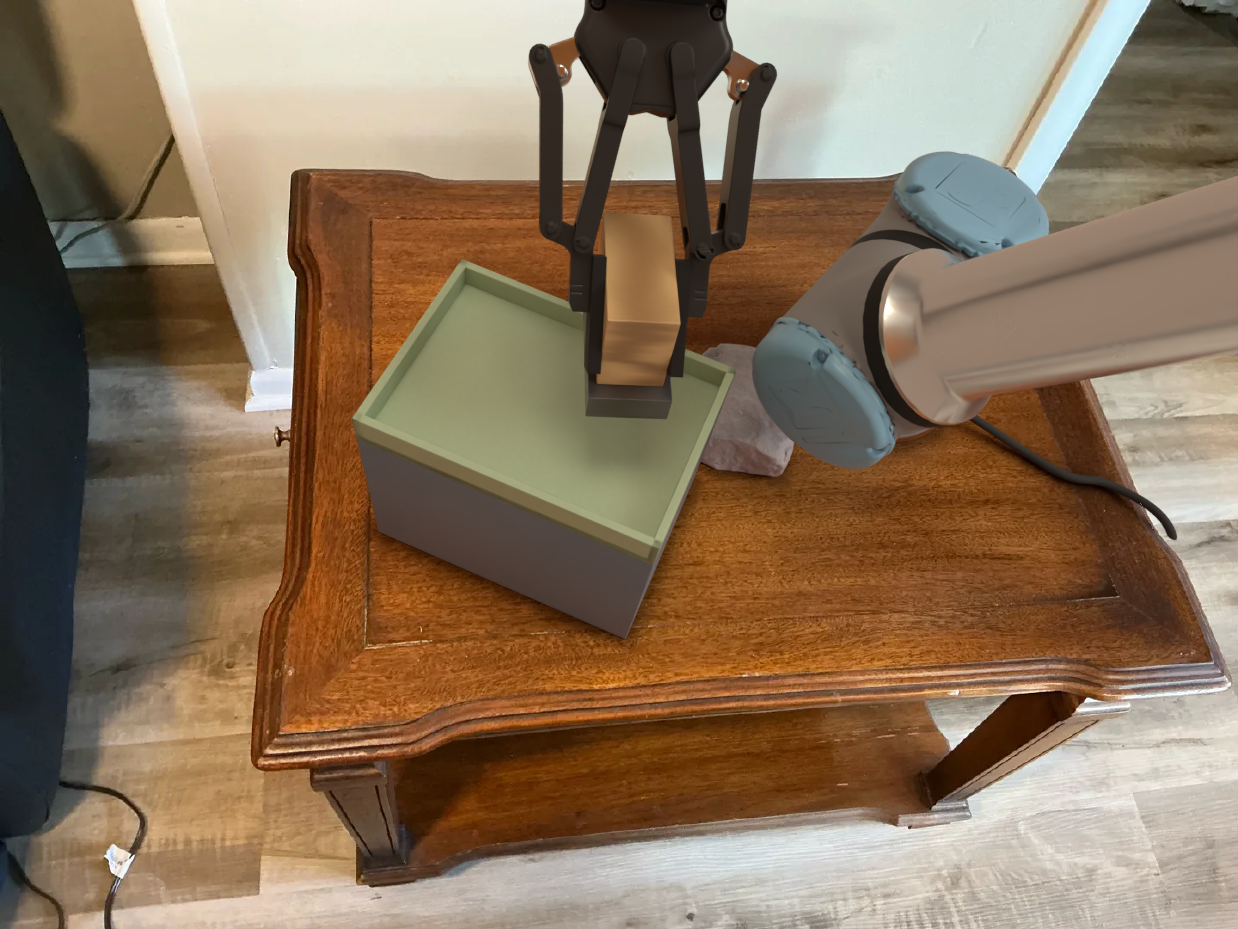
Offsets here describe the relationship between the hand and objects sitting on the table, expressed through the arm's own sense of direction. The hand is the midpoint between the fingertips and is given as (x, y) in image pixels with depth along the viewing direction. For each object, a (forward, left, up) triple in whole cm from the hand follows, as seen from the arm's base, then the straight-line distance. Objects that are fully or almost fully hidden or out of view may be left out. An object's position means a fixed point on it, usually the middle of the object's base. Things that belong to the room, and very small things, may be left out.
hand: (632, 370), depth 54 cm
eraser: (+2, -3, -3) cm, 5 cm away
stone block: (-7, -17, -24) cm, 30 cm away
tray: (+5, -1, -10) cm, 12 cm away
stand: (+5, -1, -24) cm, 25 cm away
